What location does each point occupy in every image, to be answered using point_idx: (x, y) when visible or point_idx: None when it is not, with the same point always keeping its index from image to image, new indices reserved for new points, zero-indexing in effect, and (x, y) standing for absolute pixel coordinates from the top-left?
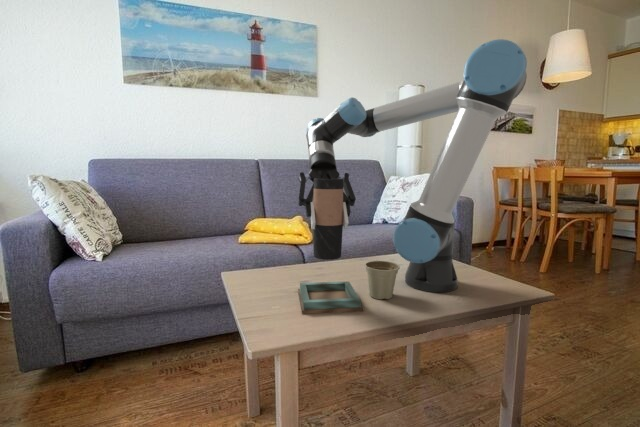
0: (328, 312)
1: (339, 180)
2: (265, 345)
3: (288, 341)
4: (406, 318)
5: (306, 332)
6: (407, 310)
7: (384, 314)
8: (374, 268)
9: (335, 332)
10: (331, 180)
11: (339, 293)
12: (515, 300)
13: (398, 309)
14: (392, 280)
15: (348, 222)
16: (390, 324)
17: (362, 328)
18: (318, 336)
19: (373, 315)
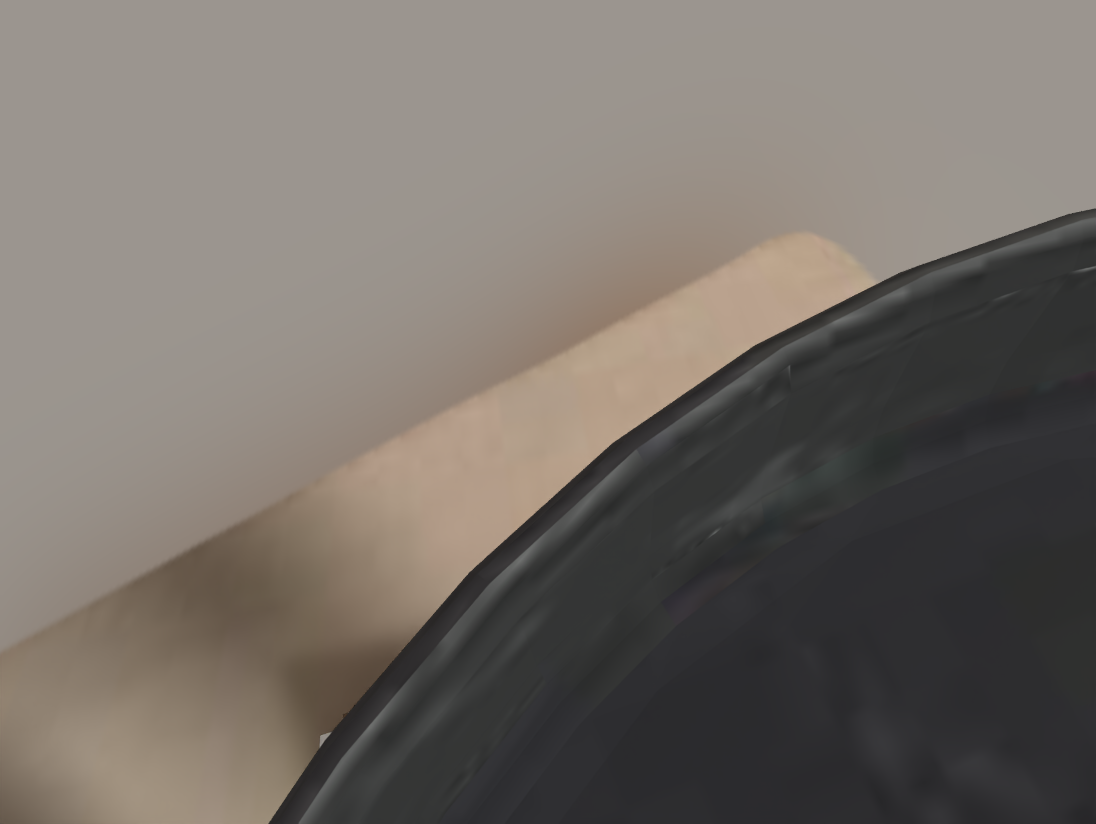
0: None
1: (354, 715)
2: (786, 261)
3: (702, 304)
4: (83, 653)
5: (644, 392)
6: (36, 790)
7: (212, 689)
8: None
9: (502, 415)
10: (977, 264)
11: None
12: None
13: (96, 796)
14: None
15: (323, 735)
16: (202, 553)
17: (364, 479)
18: (578, 366)
19: (286, 660)
